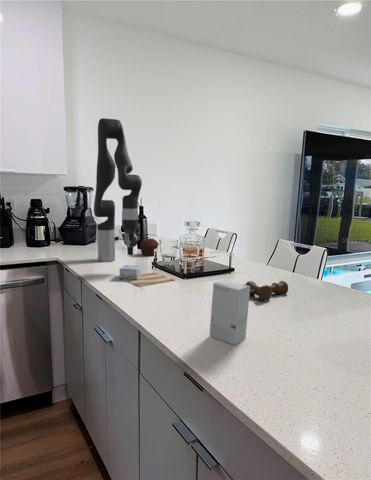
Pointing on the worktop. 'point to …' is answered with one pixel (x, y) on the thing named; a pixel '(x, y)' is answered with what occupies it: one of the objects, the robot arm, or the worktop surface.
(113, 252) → the robot arm
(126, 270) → the medicine box
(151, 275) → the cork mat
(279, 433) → the worktop surface
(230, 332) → the skincare box
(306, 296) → the worktop surface
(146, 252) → the muffin
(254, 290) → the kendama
